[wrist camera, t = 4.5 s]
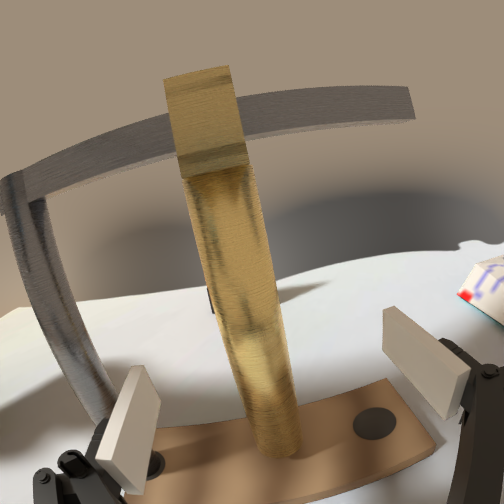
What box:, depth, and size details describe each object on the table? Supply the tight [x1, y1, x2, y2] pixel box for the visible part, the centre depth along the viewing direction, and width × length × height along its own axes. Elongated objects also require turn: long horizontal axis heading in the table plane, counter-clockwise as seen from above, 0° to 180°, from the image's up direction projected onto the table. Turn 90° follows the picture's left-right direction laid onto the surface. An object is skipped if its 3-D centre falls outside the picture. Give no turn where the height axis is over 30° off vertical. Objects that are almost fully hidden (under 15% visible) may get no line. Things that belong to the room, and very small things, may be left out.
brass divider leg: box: [163, 65, 303, 459], centre depth 16 cm, size 4×4×25 cm
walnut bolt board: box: [124, 378, 436, 504], centre depth 20 cm, size 25×10×2 cm, turn 95°
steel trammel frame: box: [0, 86, 416, 477], centre depth 16 cm, size 25×3×24 cm, turn 95°
